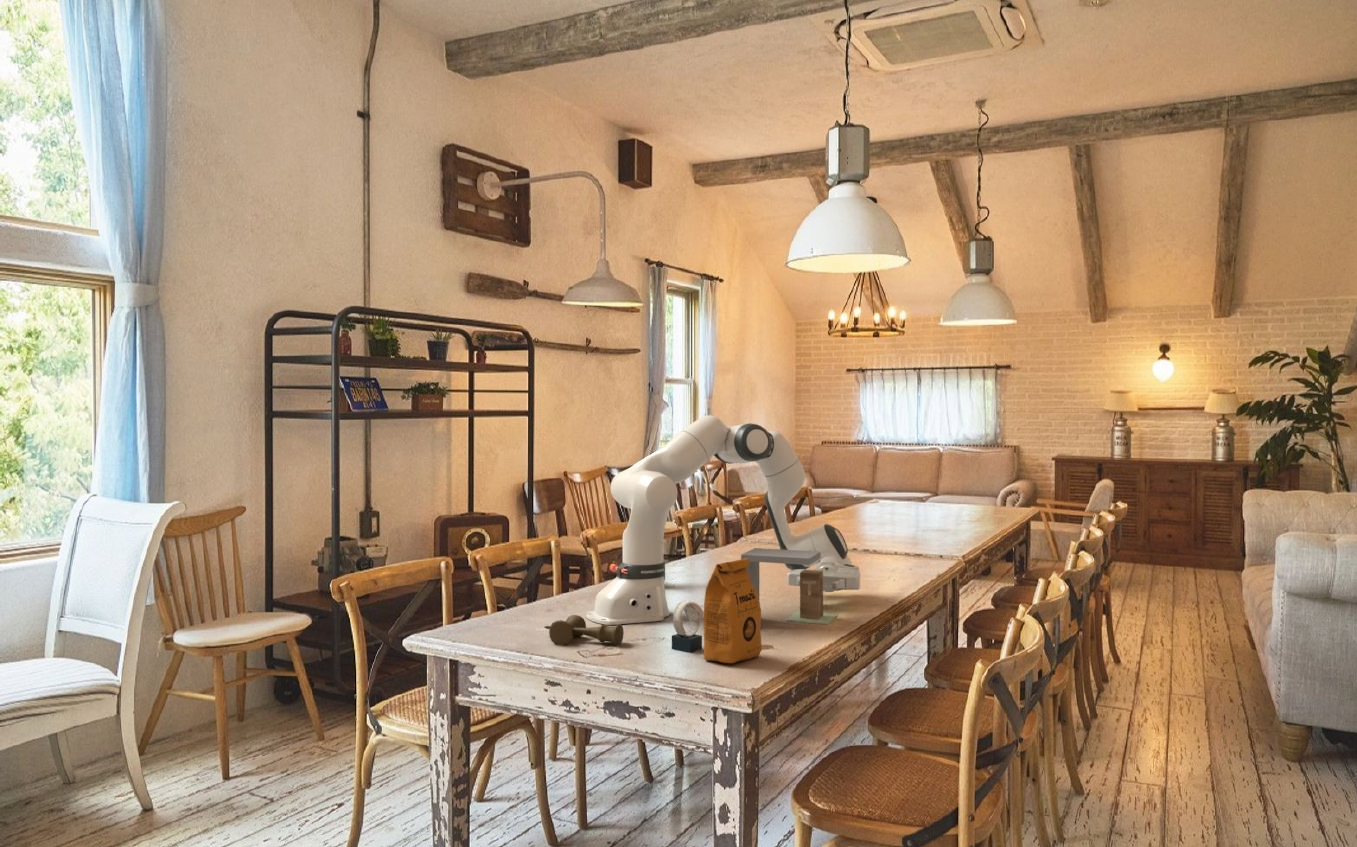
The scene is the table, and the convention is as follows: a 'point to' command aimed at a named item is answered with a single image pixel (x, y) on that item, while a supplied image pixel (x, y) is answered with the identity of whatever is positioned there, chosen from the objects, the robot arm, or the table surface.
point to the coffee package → (731, 614)
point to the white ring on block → (689, 639)
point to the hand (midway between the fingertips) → (817, 584)
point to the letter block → (811, 594)
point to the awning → (775, 560)
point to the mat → (823, 620)
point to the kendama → (583, 631)
